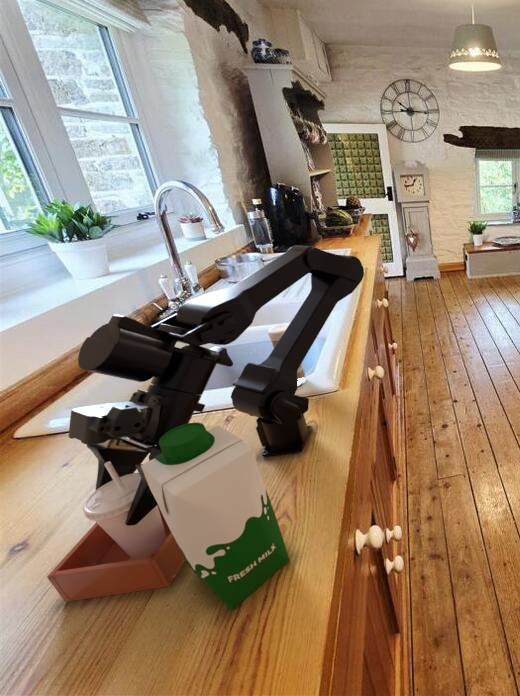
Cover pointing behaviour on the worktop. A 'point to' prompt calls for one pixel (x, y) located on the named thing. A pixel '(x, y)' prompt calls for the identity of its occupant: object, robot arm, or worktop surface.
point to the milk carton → (217, 509)
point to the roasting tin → (113, 567)
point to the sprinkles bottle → (275, 336)
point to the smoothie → (125, 516)
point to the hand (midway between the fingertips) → (113, 516)
